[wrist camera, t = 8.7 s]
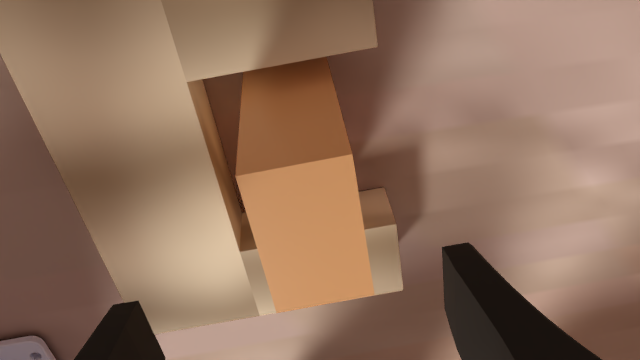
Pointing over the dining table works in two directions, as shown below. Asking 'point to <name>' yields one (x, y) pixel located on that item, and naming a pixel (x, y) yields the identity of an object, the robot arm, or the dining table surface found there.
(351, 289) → the orange brown rectangular block
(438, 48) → the dining table surface
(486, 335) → the robot arm
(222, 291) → the notched board
